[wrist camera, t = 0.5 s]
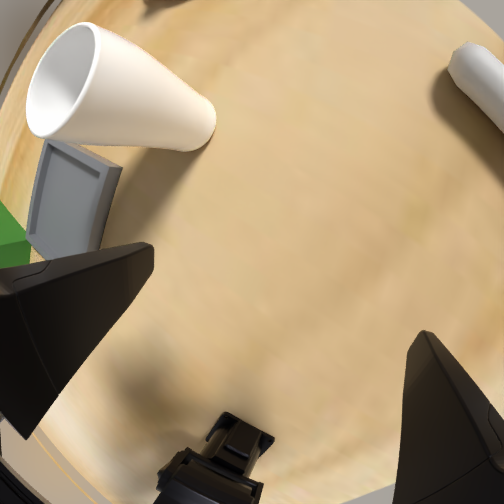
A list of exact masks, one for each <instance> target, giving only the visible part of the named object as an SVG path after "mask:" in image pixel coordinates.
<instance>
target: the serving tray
mask: <svg viewBox="0 0 504 504" xmlns="http://www.w3.org/2000/svg"><path fill="white" fill-rule="evenodd" d="M122 168H123V167H121V166H119V165H117V164H115V163H113V162H111V161H109V160H107V159H105V158H103V157H101V156H99V155H97V154H95V153H93V152H91V151H89V150H87V149H85V148H83V147H81V146H79V145H78V144H74V143H66V142H60V141H53V140H47V139H45V141H44V145H43V148H42V152H41V156H40V160H39V164H38V168H37V172H36V177H35V181H34V186H33V191H32V196H31V202H30V208H29V214H28V221H27V228H26V237H25V238H26V239H27V241H28V242H29V243H30V244H31V245H32V246H33V247H34V248H35V249H36V250H37V251H38V252H39V253H40V255H41V256H42V257H43V258H44V259H45V260H53V259H56V258H61V257H66V256H71V255H76V254H81V253H86V252H91V251H96V250H99V247H100V243H101V239H102V235H103V231H104V227H105V224H106V220H107V216H108V213H109V209H110V206H111V202H112V199H113V196H114V193H115V189H116V186H117V183H118V180H119V177H120V174H121V171H122Z"/></svg>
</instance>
